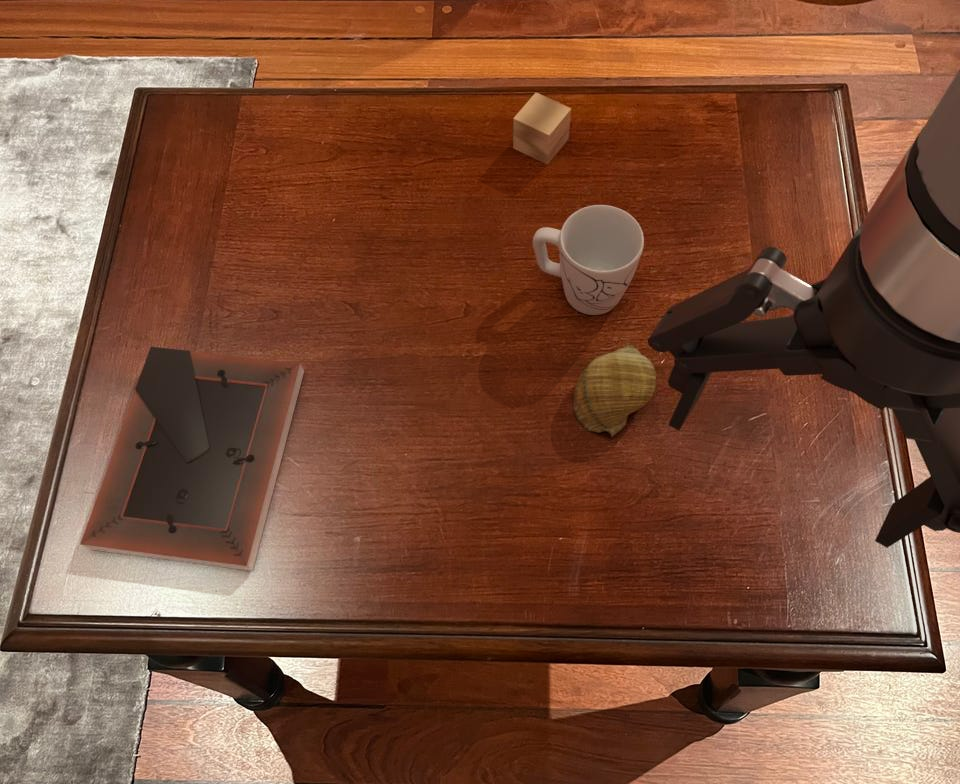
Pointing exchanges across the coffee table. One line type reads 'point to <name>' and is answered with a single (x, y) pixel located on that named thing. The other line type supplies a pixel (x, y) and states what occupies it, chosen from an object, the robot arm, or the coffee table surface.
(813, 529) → the coffee table surface
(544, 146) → the maple block
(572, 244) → the mug
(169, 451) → the picture frame
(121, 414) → the coffee table surface
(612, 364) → the seashell
